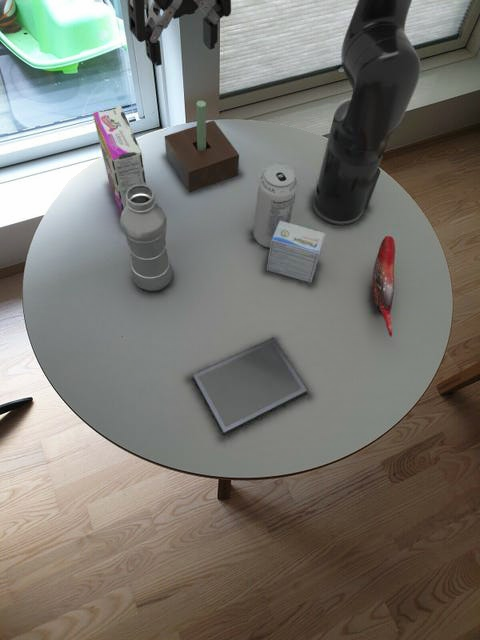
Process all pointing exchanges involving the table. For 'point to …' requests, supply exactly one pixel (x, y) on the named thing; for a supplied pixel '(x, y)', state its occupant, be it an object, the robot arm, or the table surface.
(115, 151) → the candy bar box
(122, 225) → the plastic bottle
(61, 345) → the table surface
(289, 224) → the medicine box
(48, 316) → the table surface
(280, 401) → the tablet
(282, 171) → the energy drink can
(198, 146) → the stylus
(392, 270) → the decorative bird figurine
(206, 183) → the holder
